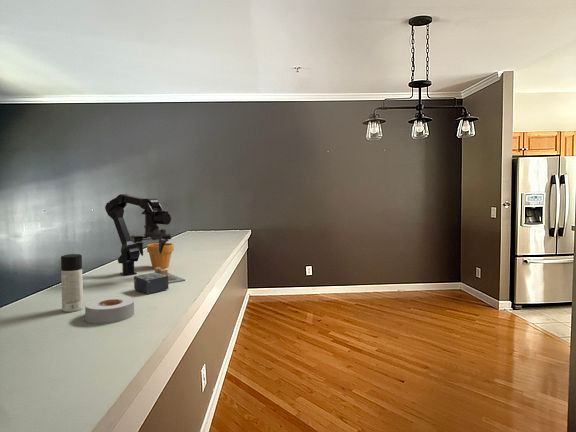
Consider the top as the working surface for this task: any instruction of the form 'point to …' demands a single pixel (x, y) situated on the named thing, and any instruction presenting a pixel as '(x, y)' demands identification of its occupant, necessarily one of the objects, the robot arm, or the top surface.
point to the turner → (164, 273)
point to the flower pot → (160, 255)
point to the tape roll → (109, 310)
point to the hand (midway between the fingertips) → (151, 254)
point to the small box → (150, 283)
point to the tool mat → (175, 280)
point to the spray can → (71, 282)
